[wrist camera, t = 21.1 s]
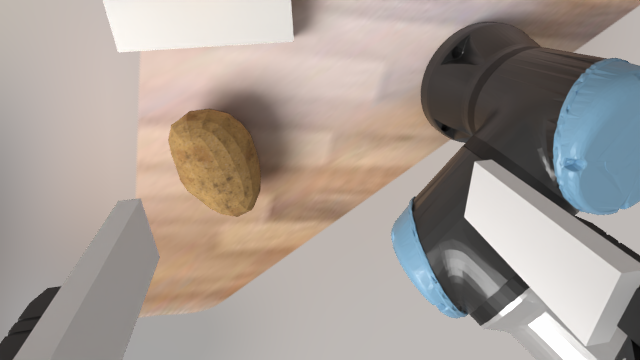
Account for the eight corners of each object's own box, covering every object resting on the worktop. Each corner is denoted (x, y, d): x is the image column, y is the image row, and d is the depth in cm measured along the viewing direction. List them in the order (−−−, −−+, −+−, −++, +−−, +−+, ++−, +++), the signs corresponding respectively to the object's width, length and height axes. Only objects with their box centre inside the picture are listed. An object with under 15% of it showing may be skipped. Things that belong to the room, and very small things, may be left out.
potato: (212, 205, 49) (205, 240, 42) (158, 114, 42) (138, 138, 35) (277, 180, 49) (281, 211, 42) (233, 85, 42) (229, 103, 35)
